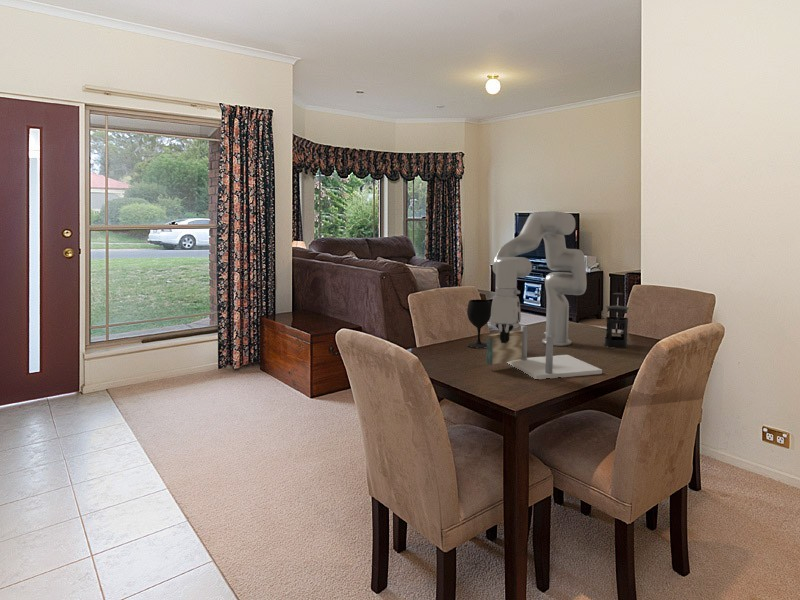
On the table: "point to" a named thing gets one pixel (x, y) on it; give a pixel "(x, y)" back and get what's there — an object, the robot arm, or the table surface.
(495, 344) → the beige wavy patterned slab
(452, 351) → the table surface
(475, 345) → the wine glass
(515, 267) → the robot arm
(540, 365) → the white base with posts
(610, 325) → the french press
